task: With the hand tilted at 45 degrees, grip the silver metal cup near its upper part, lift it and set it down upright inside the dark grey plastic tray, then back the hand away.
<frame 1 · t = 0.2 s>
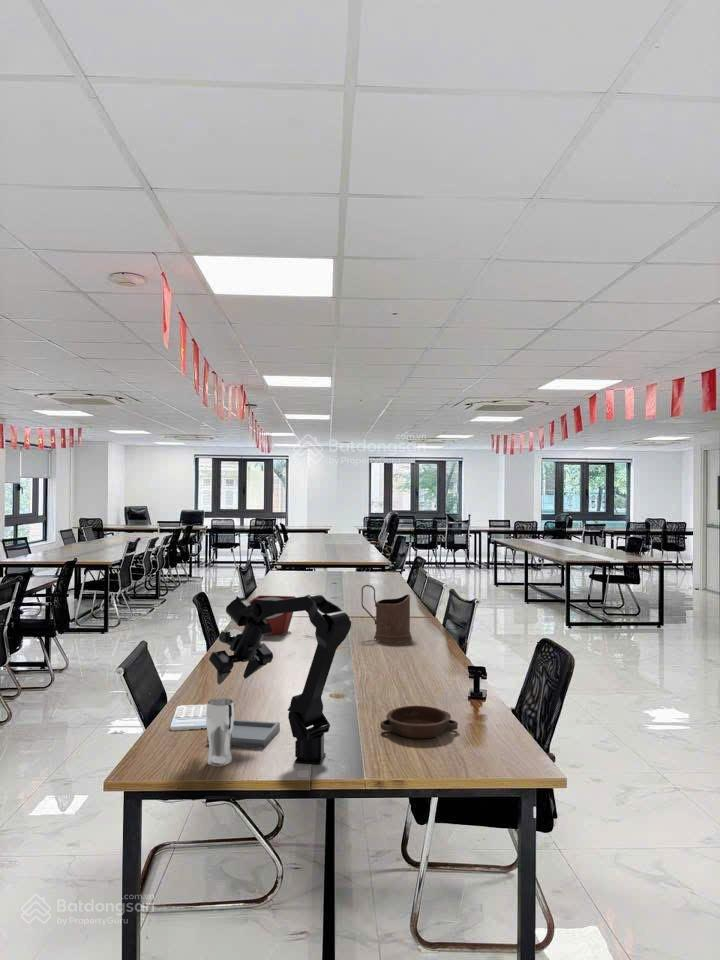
hand: (231, 680, 195), 15 cm above the table, tool tilted 30°, fingers open, 9 cm apart
dish: (418, 732, 196), on the table
plant pot: (272, 633, 334), on the table
silver metal cup: (219, 762, 173), on the table
calculator: (196, 720, 207), on the table
brown pitcher: (387, 638, 323), on the table
grey tray: (244, 737, 191), on the table
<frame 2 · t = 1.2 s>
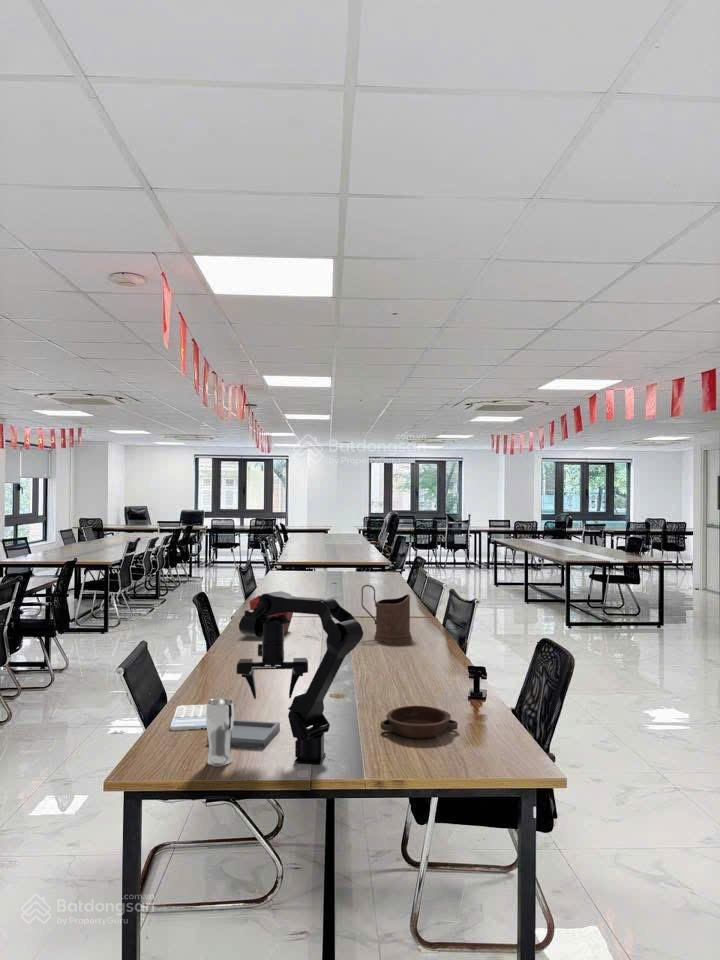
hand: (272, 698, 184), 13 cm above the table, tool pointing down, fingers open, 9 cm apart
nothing on the table moved.
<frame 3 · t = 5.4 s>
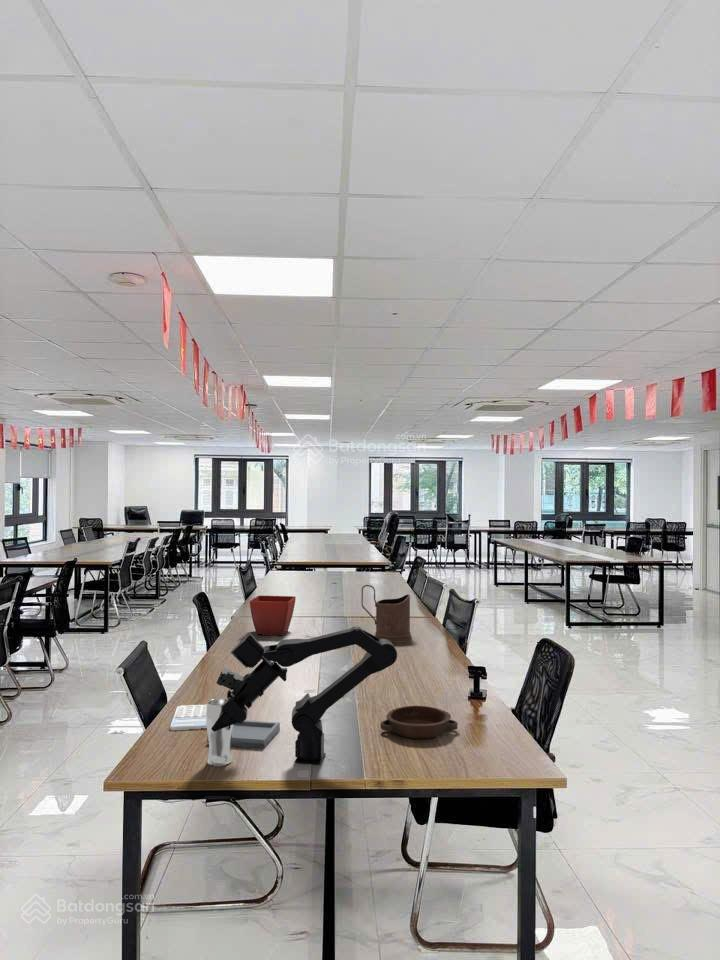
hand: (214, 725, 174), 9 cm above the table, tool tilted 45°, fingers closed on silver metal cup, 7 cm apart
silver metal cup: (219, 762, 173), on the table, touching gripper
everything else where it was.
when the fingers open (11 cm above the table, at t = 9.7 s): silver metal cup drops 1 cm, resting on grey tray.
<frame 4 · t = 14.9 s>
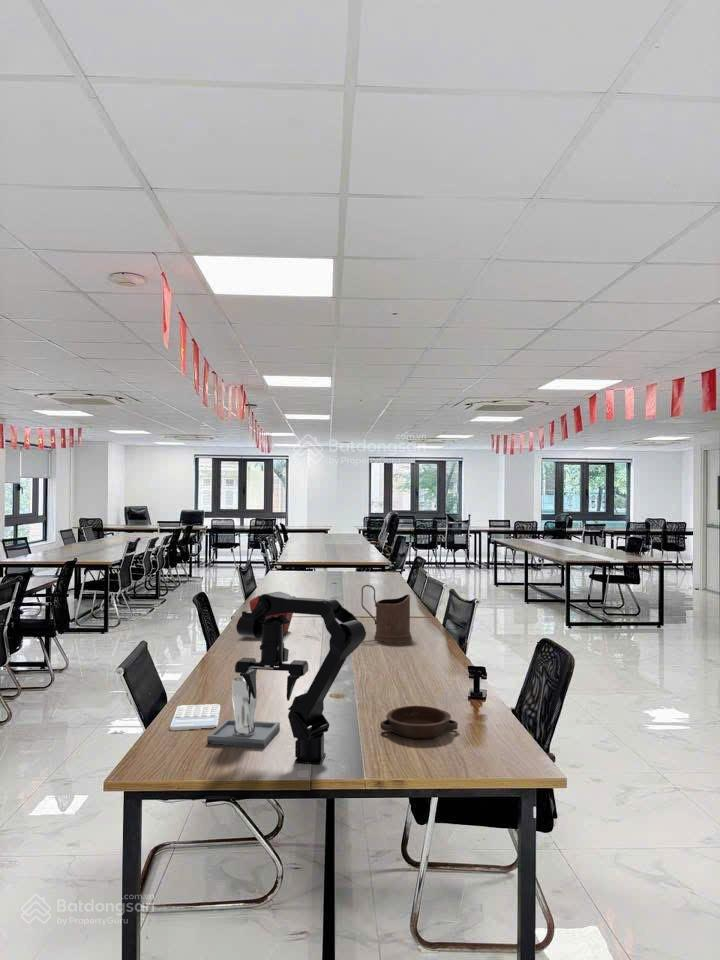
hand: (271, 699, 183), 13 cm above the table, tool pointing down, fingers open, 9 cm apart
silver metal cup: (244, 733, 191), point 1 cm above the table, touching grey tray
everything else where it was.
at the end: silver metal cup inside the target area on the grey tray (0.2 cm from its centre), point 1.0 cm above the grey tray's base; silver metal cup tilted 0°; the gripper is holding nothing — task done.
